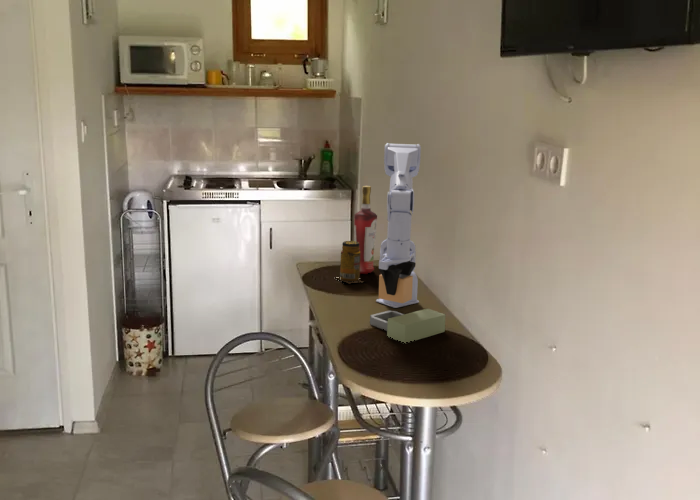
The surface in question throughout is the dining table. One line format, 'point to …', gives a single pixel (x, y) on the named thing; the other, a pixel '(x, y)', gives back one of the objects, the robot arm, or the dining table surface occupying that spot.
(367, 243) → the liquor
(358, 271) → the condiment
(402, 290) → the orange box grey panel
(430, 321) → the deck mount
